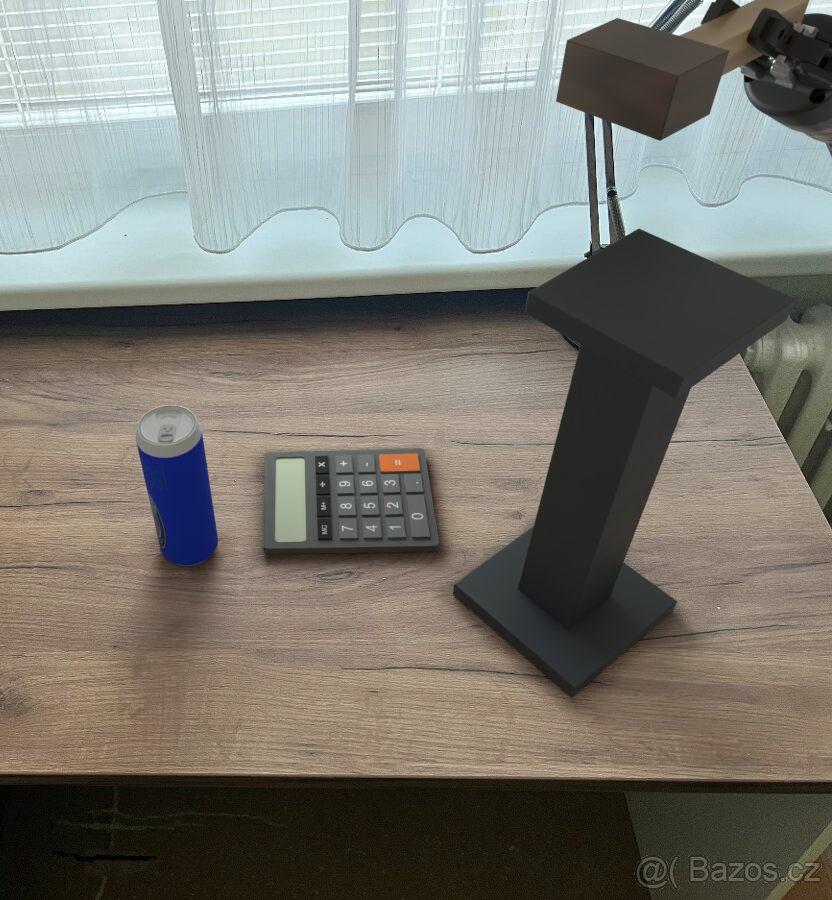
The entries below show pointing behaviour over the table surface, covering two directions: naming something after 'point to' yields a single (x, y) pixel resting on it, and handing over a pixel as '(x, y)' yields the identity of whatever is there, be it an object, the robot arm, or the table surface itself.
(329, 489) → the calculator
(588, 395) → the stand
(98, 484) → the table surface
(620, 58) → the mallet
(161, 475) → the beverage can
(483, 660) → the table surface
